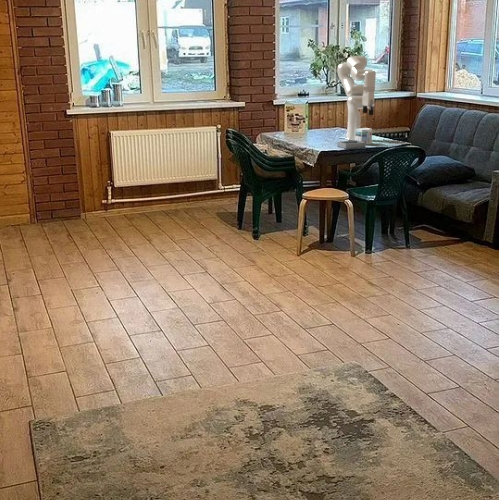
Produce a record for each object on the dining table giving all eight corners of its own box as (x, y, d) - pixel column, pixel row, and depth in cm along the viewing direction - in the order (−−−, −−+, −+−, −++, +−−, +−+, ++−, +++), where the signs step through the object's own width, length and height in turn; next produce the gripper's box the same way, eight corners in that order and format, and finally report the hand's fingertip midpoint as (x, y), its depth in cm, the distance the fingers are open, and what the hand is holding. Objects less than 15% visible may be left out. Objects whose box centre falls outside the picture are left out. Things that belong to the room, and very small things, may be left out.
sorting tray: (337, 146, 497) (337, 141, 496) (356, 145, 502) (357, 140, 501) (345, 149, 487) (345, 144, 486) (365, 147, 492) (365, 142, 491)
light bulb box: (361, 145, 503) (362, 129, 500) (354, 144, 508) (355, 128, 505) (372, 143, 509) (372, 128, 506) (365, 142, 514) (366, 127, 511)
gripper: (359, 87, 501) (357, 112, 507) (369, 90, 486) (368, 116, 491) (368, 87, 503) (367, 112, 509) (379, 90, 488) (378, 115, 493)
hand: (367, 114), depth 500 cm, fingers open, 9 cm apart
